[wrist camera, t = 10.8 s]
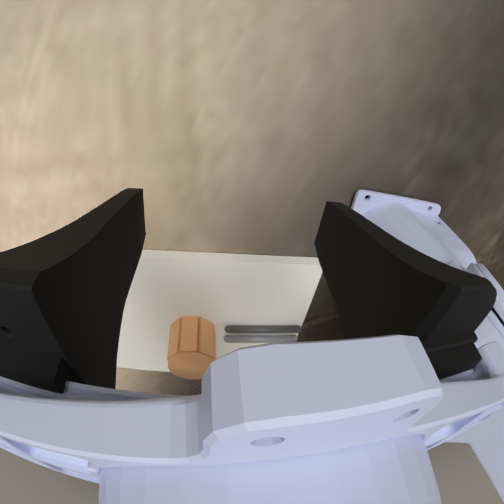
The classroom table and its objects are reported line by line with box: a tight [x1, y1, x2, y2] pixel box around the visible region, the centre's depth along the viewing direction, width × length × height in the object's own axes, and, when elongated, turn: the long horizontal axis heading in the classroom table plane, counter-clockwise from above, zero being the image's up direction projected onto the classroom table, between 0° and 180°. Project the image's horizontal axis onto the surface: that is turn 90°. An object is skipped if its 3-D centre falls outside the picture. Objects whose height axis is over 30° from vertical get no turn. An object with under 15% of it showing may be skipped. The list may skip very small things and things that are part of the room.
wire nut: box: [167, 316, 216, 379], centre depth 26 cm, size 4×4×4 cm
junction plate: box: [116, 249, 323, 372], centre depth 27 cm, size 22×18×4 cm
